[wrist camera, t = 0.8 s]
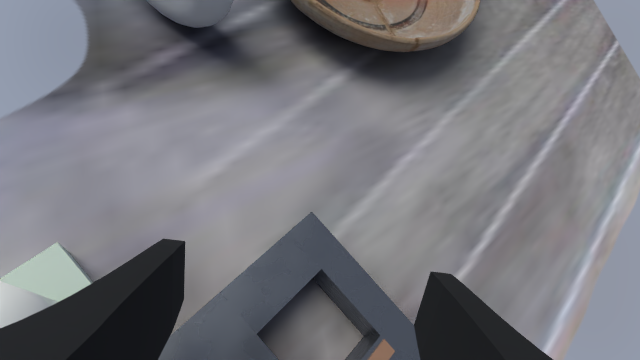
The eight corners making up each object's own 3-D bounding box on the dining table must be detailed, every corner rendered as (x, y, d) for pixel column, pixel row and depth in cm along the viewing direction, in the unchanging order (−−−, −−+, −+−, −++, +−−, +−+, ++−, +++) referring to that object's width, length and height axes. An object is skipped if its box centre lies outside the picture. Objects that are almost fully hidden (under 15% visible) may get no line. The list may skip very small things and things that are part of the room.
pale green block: (13, 448, 19) (-3, 458, 17) (-70, 339, 20) (-95, 338, 18) (141, 340, 22) (137, 339, 21) (66, 250, 23) (57, 242, 21)
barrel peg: (12, 404, 18) (-74, 434, 12) (-39, 339, 18) (-148, 336, 12) (93, 339, 20) (55, 337, 14) (46, 281, 20) (-12, 254, 14)
